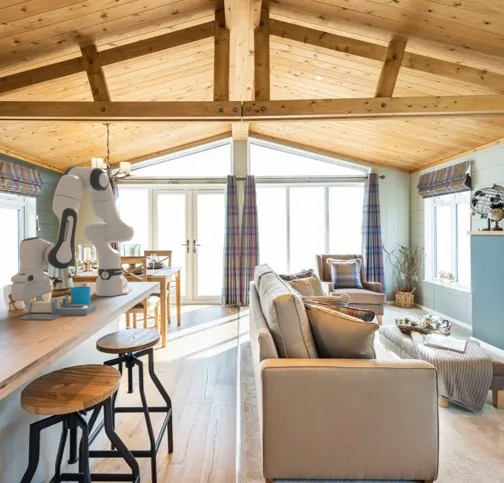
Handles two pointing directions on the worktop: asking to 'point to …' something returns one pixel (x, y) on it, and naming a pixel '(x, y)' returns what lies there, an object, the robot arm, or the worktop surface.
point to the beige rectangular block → (42, 306)
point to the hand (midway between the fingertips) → (33, 307)
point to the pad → (41, 317)
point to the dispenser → (71, 307)
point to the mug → (80, 295)
